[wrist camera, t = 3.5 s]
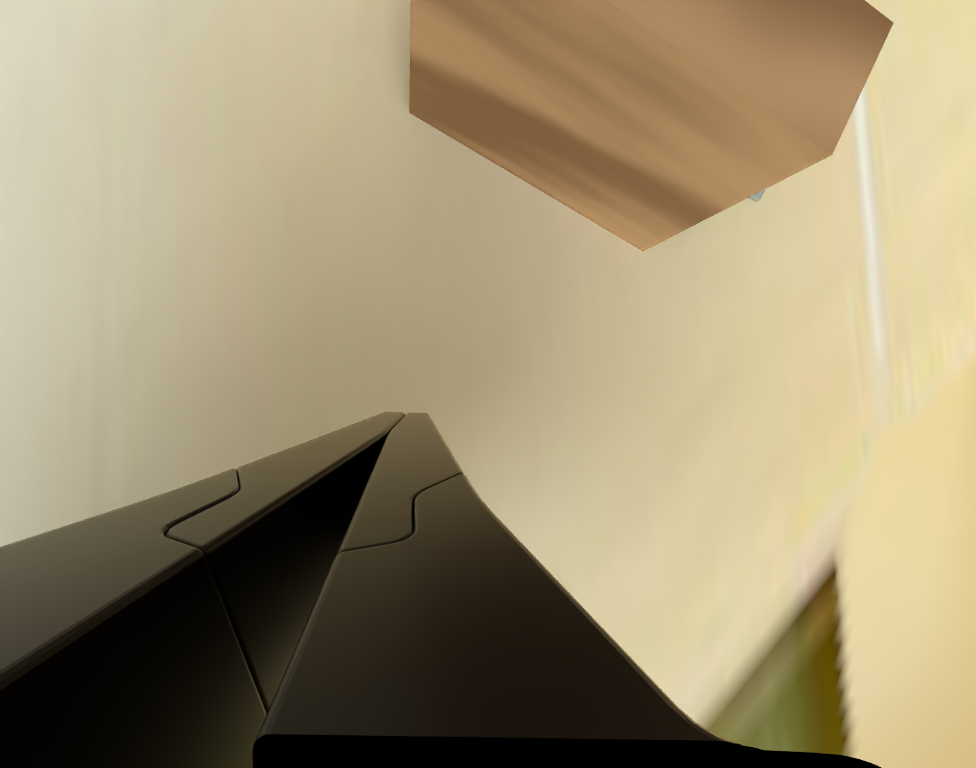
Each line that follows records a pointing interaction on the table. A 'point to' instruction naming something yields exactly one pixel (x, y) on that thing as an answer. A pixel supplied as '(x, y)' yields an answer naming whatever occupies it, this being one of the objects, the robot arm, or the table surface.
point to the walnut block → (644, 96)
